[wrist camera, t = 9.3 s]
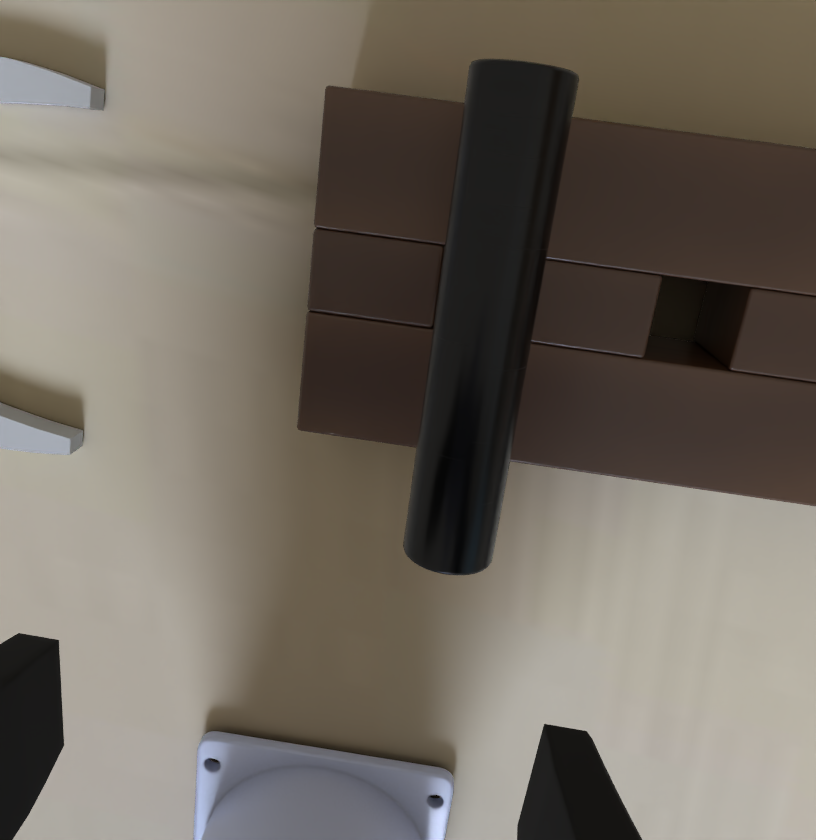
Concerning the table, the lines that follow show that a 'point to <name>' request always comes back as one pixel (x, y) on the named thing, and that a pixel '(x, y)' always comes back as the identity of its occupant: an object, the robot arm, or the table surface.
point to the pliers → (50, 87)
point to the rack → (580, 298)
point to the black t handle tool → (486, 307)
